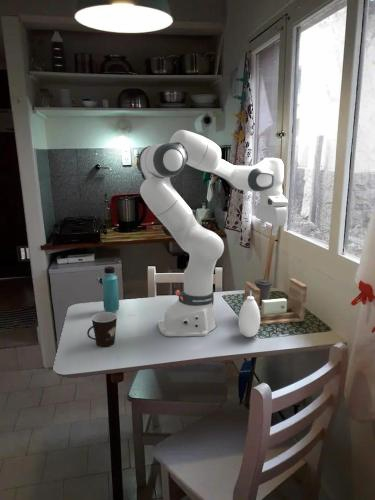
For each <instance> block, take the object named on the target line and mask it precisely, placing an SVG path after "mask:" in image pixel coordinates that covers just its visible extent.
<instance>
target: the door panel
mask: <svg viewBox="0 0 375 500" xmlns="http://www.w3.org/2000/svg"><path fill="white" fill-rule="evenodd" d="M287 308H288V299H286V298H274V299H269V300H262V303H261V309H260V310H261V316H262V315H272V314H282V313H286V310H287Z"/></svg>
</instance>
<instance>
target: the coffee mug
mask: <svg viewBox="0 0 375 500" xmlns="http://www.w3.org/2000/svg"><path fill="white" fill-rule="evenodd" d="M117 321H118V315H117V313H115V312H106V311H103V312H98V313H95V314H93V315H92V317H91V322H92V326H90V327H89V328H88V329H87V332H86V334H87V337H88V338H89V339H90V340H94V341H95V344H96V347H99V348H101V349H102V348H105V349H106V348H110V347H112V346H114V345H115V342H116V333H117V331H116V330H117ZM92 329H93V333H94V337H92V336H91V335H90V331H92Z"/></svg>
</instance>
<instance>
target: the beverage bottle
mask: <svg viewBox="0 0 375 500" xmlns="http://www.w3.org/2000/svg"><path fill="white" fill-rule="evenodd" d="M103 272H104V274H105V275H103V277H102V278H101V279H102V299H103V300H102V302H103V310H104V312H112V313H115V312H118V311H119V310H120V298H119V296H120V295H119V283H118V282H119V281H118V277H119V276H117V275H116V274H115V267H114V266H106V267H104V271H103Z"/></svg>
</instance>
